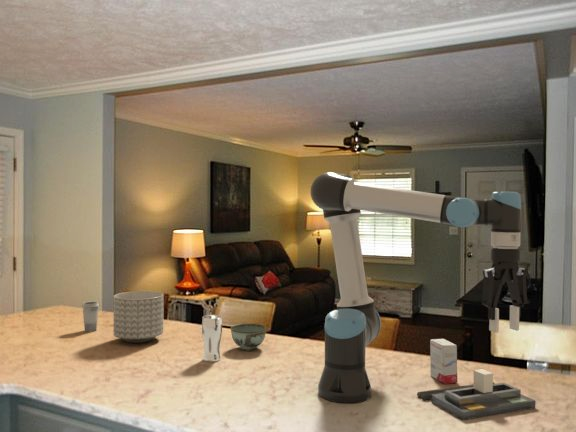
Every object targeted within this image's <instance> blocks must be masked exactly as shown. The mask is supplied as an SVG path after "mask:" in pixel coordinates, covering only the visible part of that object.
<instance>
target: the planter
mask: <svg viewBox="0 0 576 432" xmlns="http://www.w3.org/2000/svg"><path fill="white" fill-rule="evenodd" d="M164 302H165V301H164V293H162V292H159V291H152V290H137V291H136V290H135V291H125V292H119V293H116V294H114V295H113V336H114V337H115V338H118V339H121V340H122V341H125V342H127V343H129V344H144V343H147V342H149V341H153V339H155V338H156V337H158V336H160V335H162V334H163V333H164V312H165V311H164V305H165V304H164Z"/></svg>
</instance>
